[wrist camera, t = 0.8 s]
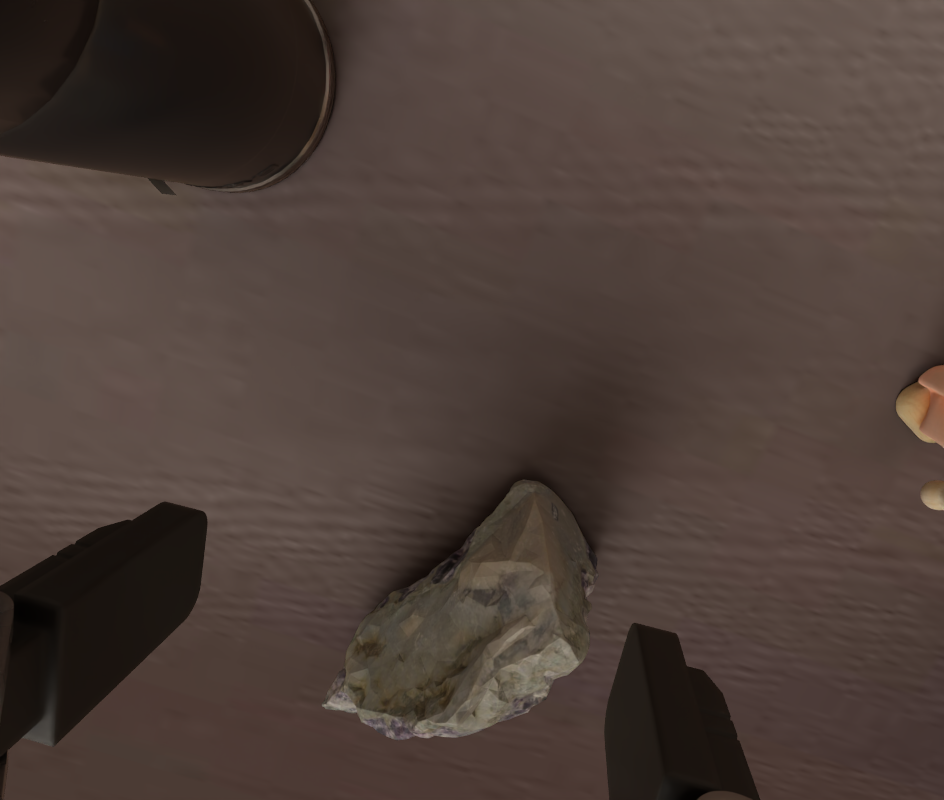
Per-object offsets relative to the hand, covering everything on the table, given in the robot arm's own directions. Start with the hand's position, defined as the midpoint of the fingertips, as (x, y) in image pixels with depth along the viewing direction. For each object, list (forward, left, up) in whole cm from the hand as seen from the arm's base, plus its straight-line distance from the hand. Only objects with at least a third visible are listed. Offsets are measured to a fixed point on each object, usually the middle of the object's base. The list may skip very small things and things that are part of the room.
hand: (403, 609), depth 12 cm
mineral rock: (+9, -3, -19) cm, 21 cm away
